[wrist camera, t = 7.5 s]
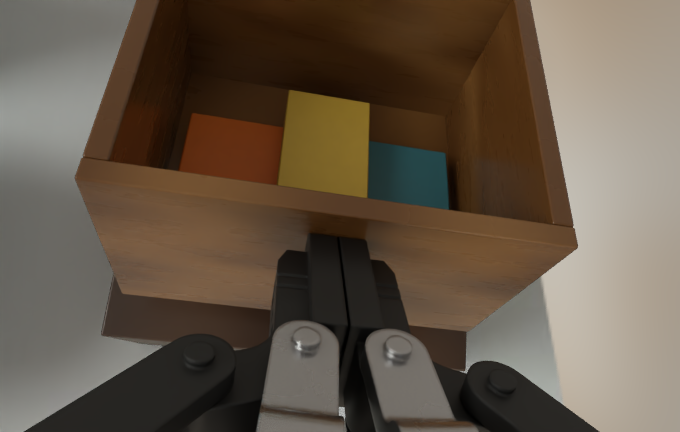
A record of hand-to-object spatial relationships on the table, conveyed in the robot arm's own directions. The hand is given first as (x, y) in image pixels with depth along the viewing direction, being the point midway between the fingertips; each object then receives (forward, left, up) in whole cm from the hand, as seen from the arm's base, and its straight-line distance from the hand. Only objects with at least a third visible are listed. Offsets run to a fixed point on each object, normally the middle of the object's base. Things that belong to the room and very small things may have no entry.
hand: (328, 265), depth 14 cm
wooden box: (0, -4, -6) cm, 7 cm away
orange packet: (+3, -4, -6) cm, 7 cm away
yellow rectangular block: (0, -4, -4) cm, 6 cm away
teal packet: (-3, -4, -6) cm, 7 cm away
